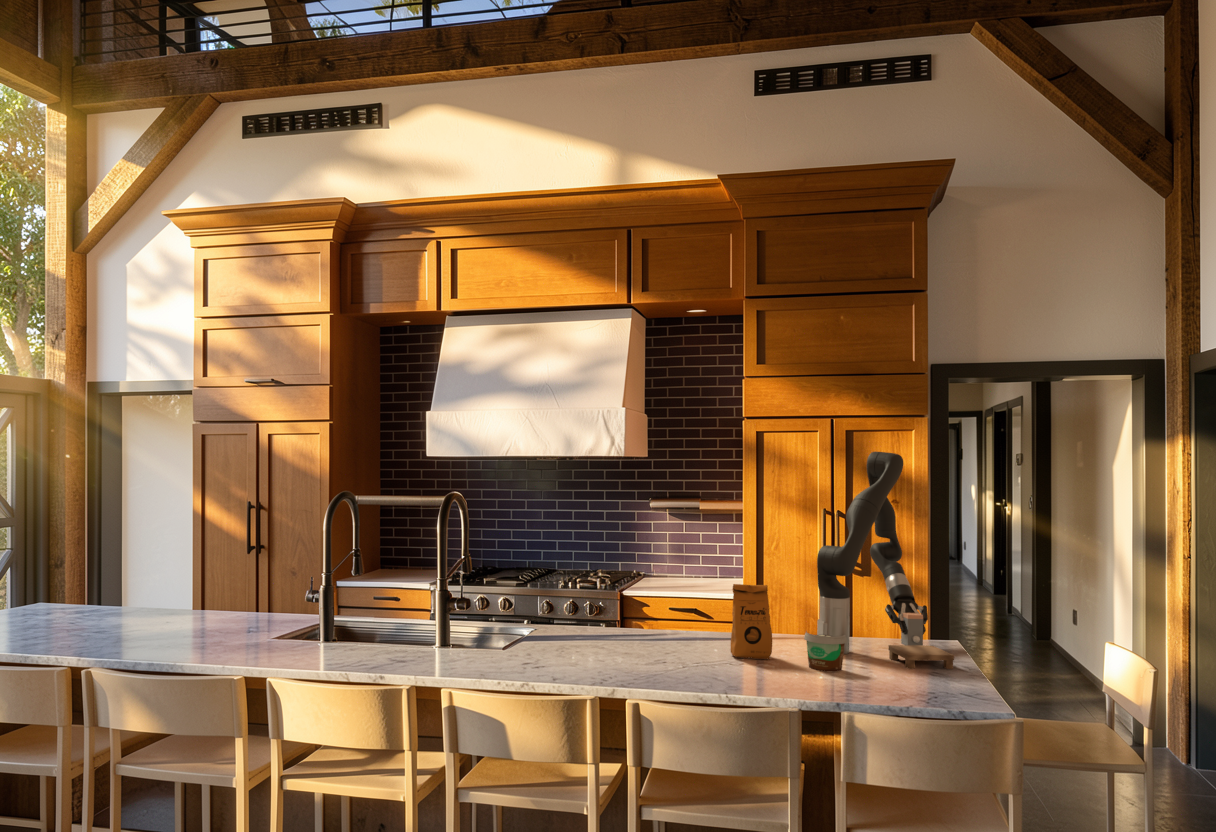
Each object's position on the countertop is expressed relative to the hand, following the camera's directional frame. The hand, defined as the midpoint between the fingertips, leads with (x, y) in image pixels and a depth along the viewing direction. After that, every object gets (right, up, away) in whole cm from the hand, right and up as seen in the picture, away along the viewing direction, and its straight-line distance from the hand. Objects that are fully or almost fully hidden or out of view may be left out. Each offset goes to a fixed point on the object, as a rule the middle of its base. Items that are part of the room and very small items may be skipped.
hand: (914, 633), depth 276 cm
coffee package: (-55, -4, -15) cm, 57 cm away
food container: (-37, -3, -29) cm, 47 cm away
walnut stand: (-5, -5, -18) cm, 19 cm away
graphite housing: (0, -4, +2) cm, 5 cm away
